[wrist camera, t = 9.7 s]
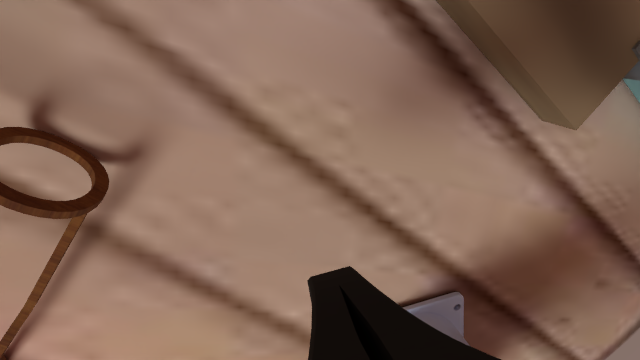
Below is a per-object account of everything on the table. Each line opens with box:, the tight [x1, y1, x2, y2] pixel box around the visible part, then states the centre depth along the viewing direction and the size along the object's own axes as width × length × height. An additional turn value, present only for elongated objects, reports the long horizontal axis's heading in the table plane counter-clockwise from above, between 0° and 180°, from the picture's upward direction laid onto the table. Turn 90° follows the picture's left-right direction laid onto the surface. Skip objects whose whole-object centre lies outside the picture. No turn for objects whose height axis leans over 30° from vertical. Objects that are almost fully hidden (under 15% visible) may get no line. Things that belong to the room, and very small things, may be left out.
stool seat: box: [436, 0, 640, 130], centre depth 21 cm, size 10×23×3 cm, turn 51°
